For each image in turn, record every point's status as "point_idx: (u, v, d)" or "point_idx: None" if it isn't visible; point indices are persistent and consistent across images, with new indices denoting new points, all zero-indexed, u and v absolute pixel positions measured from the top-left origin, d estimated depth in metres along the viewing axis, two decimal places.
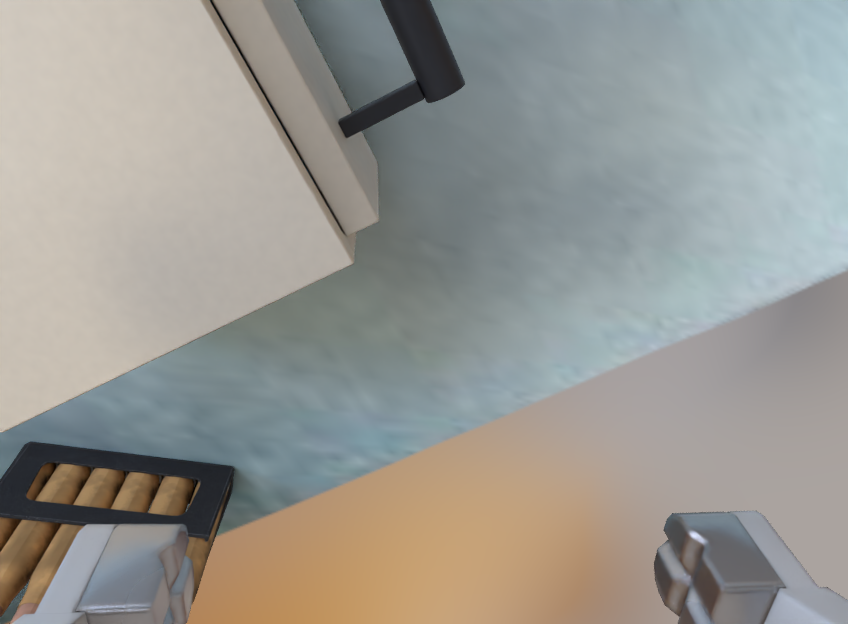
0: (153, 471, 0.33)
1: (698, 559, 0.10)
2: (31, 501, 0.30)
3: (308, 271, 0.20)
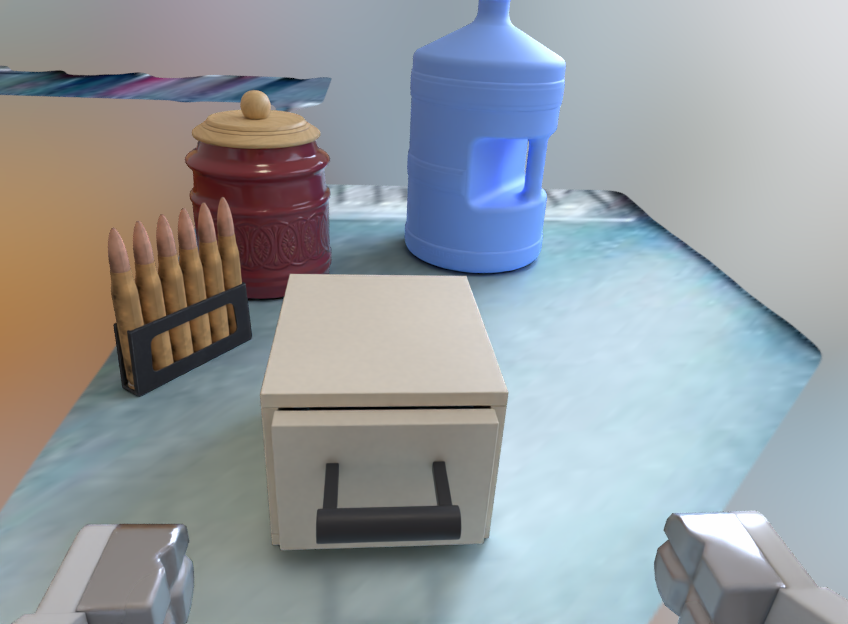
0: (183, 360, 0.47)
1: (698, 559, 0.10)
2: (228, 302, 0.49)
3: (273, 377, 0.30)
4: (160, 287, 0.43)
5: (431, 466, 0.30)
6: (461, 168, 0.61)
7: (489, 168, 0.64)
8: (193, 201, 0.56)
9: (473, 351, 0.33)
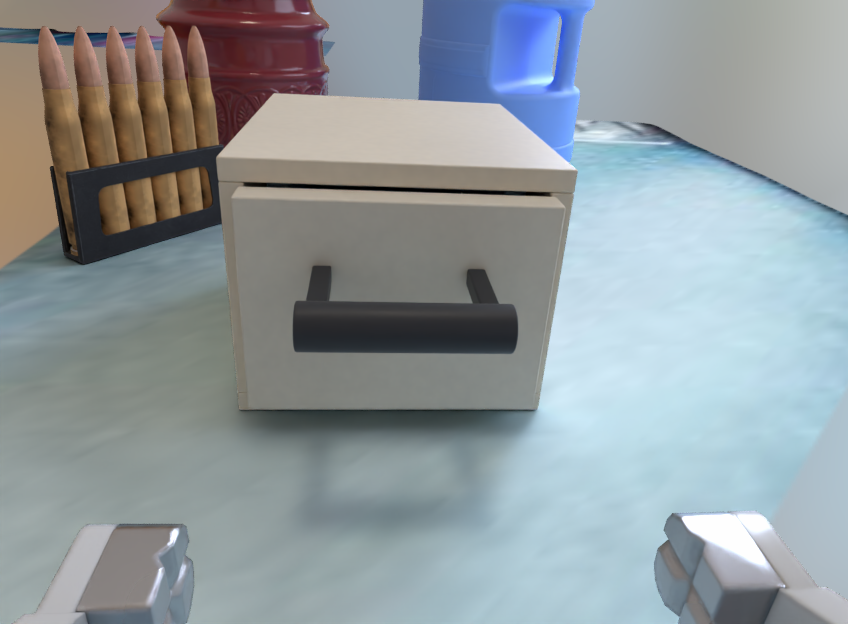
0: (142, 228, 0.37)
1: (698, 559, 0.10)
2: (201, 165, 0.40)
3: (237, 147, 0.21)
4: (110, 122, 0.34)
5: (465, 277, 0.21)
6: (484, 43, 0.52)
7: (515, 50, 0.55)
8: None
9: (521, 143, 0.24)
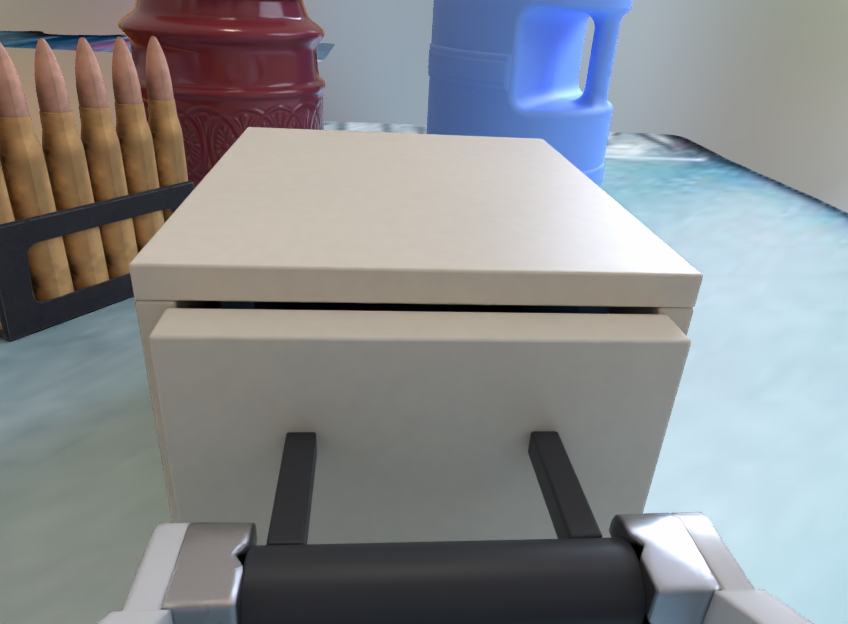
0: (90, 290, 0.30)
1: (639, 561, 0.10)
2: (166, 207, 0.32)
3: (170, 239, 0.13)
4: (42, 162, 0.27)
5: (527, 443, 0.13)
6: (505, 52, 0.45)
7: (540, 60, 0.48)
8: None
9: (596, 215, 0.16)
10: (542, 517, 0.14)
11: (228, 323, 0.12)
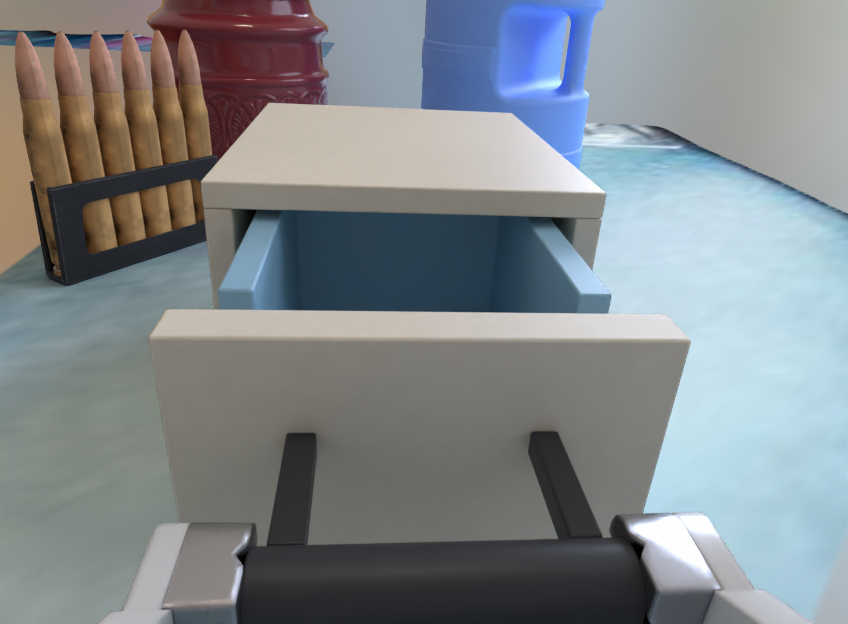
0: (131, 245, 0.35)
1: (639, 561, 0.10)
2: (193, 177, 0.37)
3: (225, 168, 0.19)
4: (95, 134, 0.32)
5: (527, 443, 0.13)
6: (490, 46, 0.50)
7: (522, 53, 0.53)
8: None
9: (540, 160, 0.22)
10: (543, 517, 0.14)
11: (228, 324, 0.12)
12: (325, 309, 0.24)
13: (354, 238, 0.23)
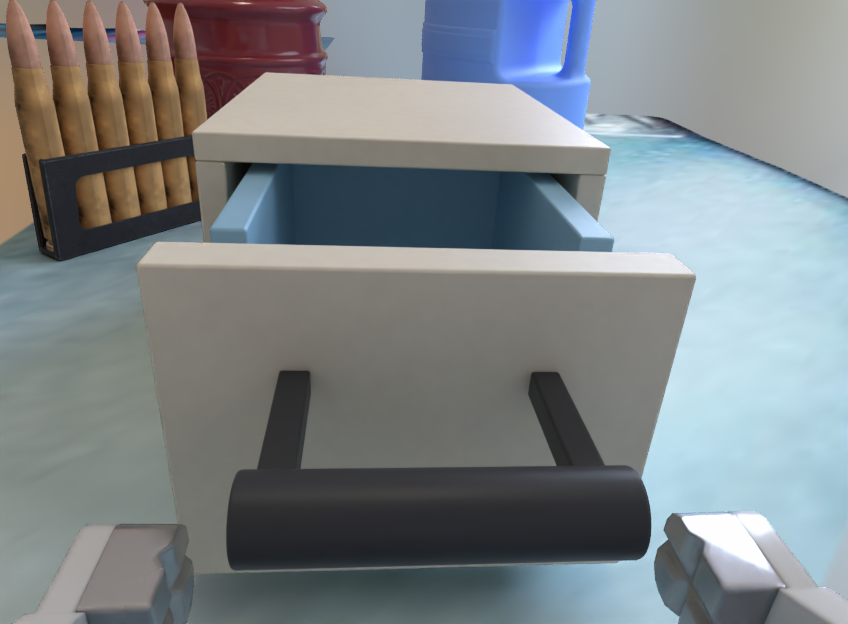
0: (125, 222, 0.35)
1: (698, 559, 0.10)
2: (189, 154, 0.37)
3: (218, 122, 0.18)
4: (88, 106, 0.31)
5: (527, 384, 0.13)
6: (490, 28, 0.49)
7: (522, 36, 0.52)
8: None
9: (542, 121, 0.21)
10: (543, 464, 0.14)
11: (219, 254, 0.12)
12: None
13: (351, 201, 0.23)
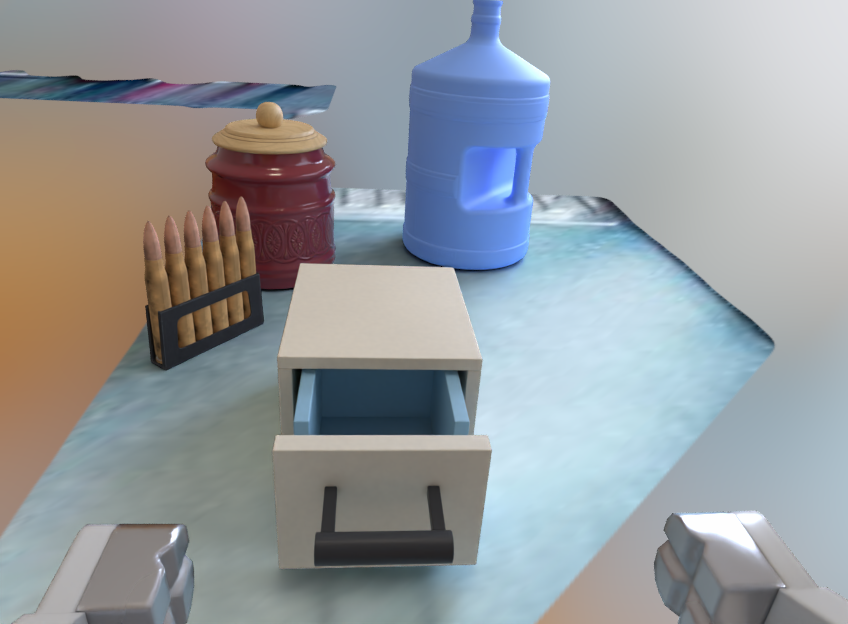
0: (204, 340, 0.53)
1: (698, 559, 0.10)
2: (244, 290, 0.55)
3: (287, 344, 0.36)
4: (186, 274, 0.50)
5: (426, 490, 0.31)
6: (454, 174, 0.68)
7: (479, 174, 0.71)
8: (212, 200, 0.63)
9: (455, 327, 0.39)
10: None
11: (302, 443, 0.30)
12: (336, 400, 0.42)
13: None
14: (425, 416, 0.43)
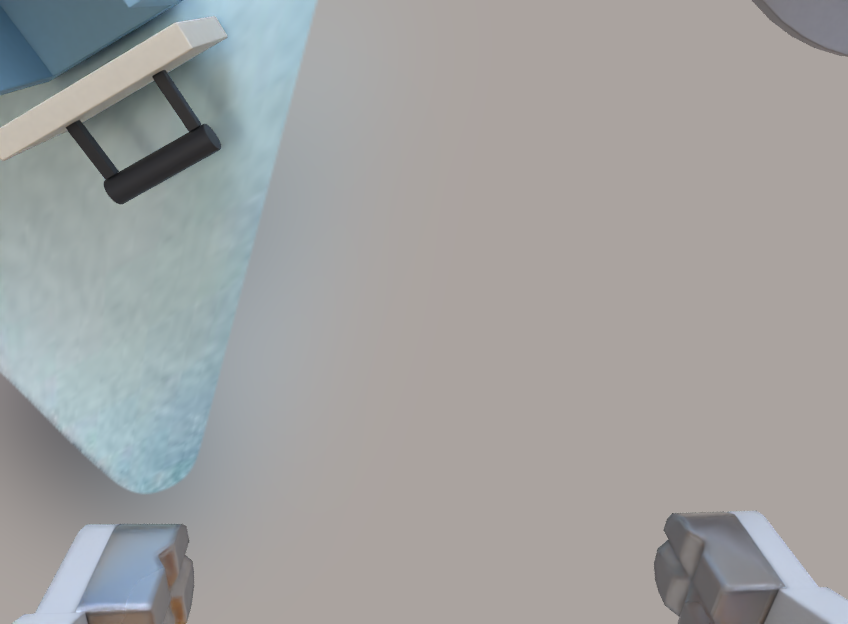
0: None
1: (698, 559, 0.10)
2: None
3: None
4: None
5: None
6: None
7: None
8: None
9: None
10: (176, 64, 0.32)
11: (17, 137, 0.28)
12: None
13: None
14: None
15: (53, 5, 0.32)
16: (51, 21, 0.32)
